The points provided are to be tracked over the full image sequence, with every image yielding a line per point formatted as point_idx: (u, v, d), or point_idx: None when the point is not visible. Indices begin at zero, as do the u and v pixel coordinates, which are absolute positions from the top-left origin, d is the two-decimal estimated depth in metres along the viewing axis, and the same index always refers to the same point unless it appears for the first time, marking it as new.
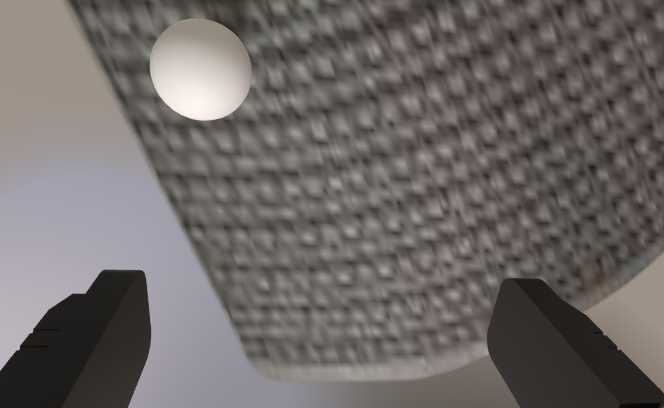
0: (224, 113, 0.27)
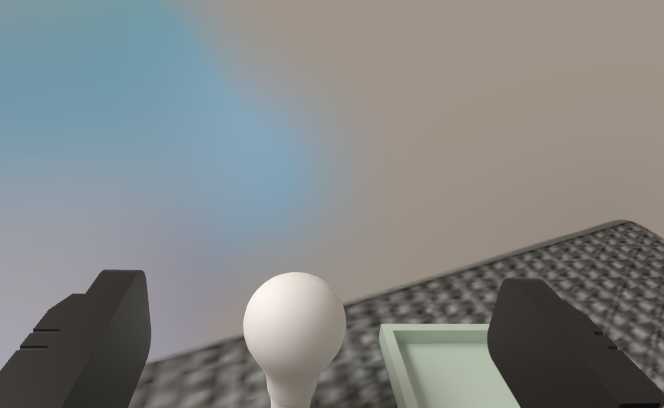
0: (255, 325, 0.24)
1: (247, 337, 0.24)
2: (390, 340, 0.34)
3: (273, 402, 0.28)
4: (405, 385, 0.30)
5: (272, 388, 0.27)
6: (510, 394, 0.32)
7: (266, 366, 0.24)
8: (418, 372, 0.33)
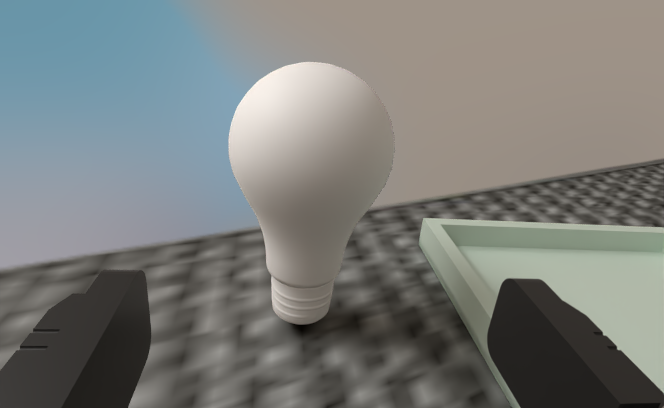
0: (247, 121, 0.14)
1: (234, 150, 0.15)
2: (439, 233, 0.25)
3: (275, 285, 0.18)
4: (471, 277, 0.20)
5: (274, 256, 0.17)
6: (616, 301, 0.22)
7: (265, 195, 0.14)
8: (480, 274, 0.24)
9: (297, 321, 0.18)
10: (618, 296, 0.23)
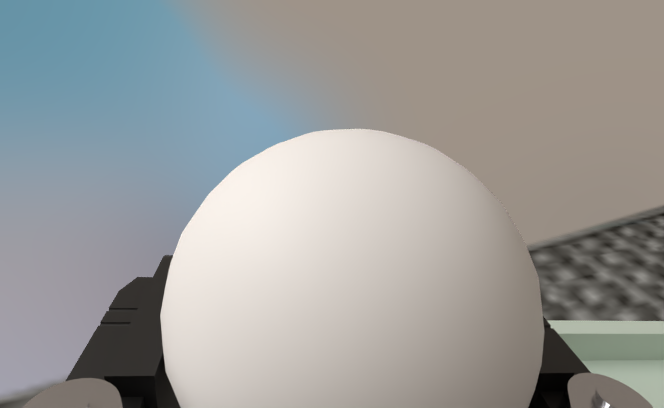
0: (194, 301, 0.05)
1: (167, 355, 0.06)
2: None
3: None
4: None
5: None
6: None
7: None
8: None
9: None
10: None
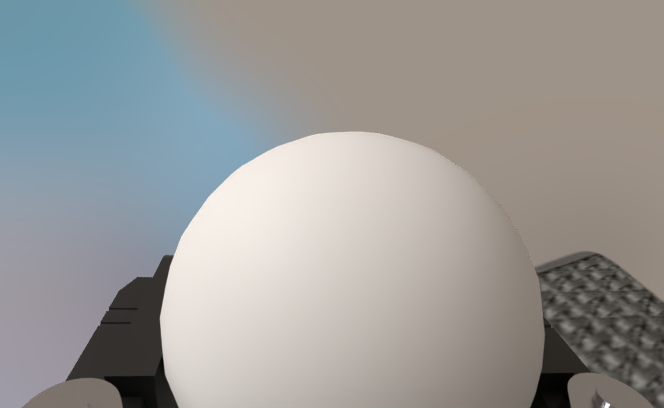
0: (194, 305, 0.05)
1: (166, 359, 0.06)
2: None
3: None
4: None
5: None
6: None
7: None
8: None
9: None
10: None
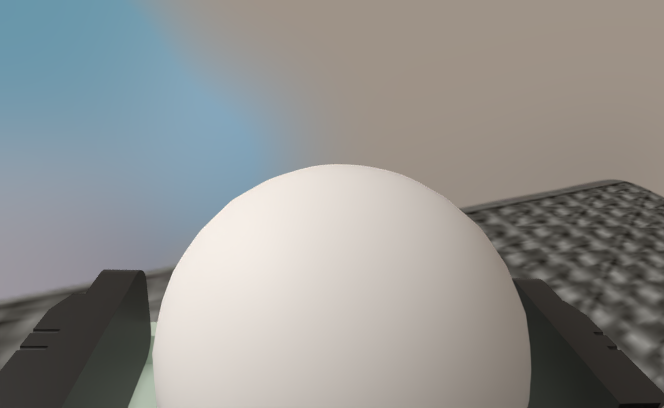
0: (183, 348, 0.05)
1: (158, 397, 0.06)
2: None
3: None
4: None
5: None
6: None
7: None
8: None
9: None
10: None
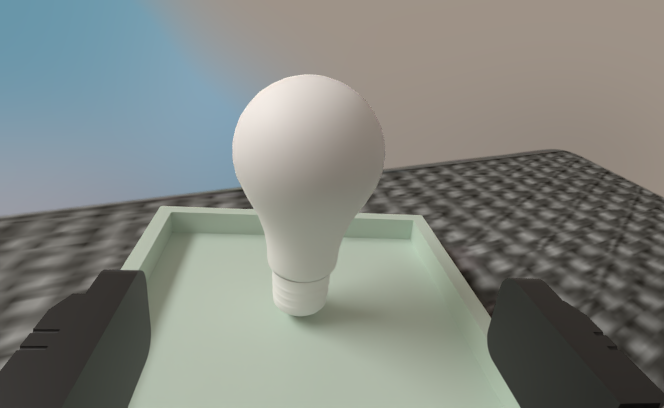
0: (249, 129, 0.15)
1: (237, 156, 0.16)
2: (158, 220, 0.25)
3: (276, 280, 0.19)
4: (134, 261, 0.21)
5: (275, 252, 0.18)
6: None
7: (266, 197, 0.16)
8: (187, 259, 0.24)
9: (296, 313, 0.19)
10: None
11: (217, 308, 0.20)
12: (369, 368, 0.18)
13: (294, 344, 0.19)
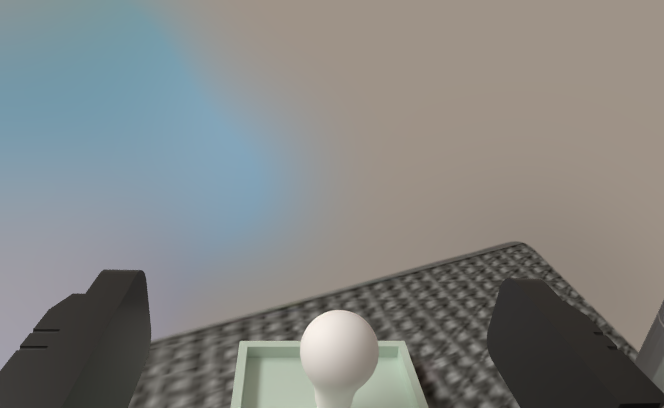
0: (312, 353, 0.31)
1: (305, 362, 0.32)
2: (241, 355, 0.41)
3: None
4: (237, 393, 0.37)
5: (320, 400, 0.34)
6: None
7: (319, 384, 0.32)
8: (260, 382, 0.40)
9: None
10: None
11: None
12: None
13: None
